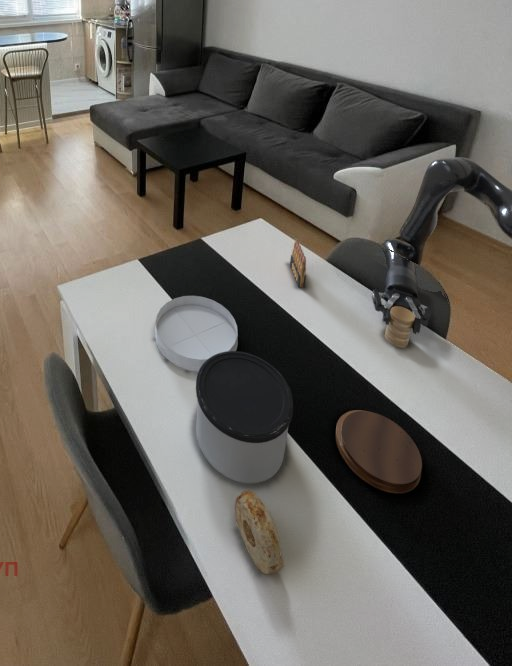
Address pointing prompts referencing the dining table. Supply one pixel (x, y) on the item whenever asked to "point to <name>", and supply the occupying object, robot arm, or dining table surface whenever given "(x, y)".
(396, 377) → the dining table surface
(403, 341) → the chip roll
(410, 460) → the brown round base
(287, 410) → the container
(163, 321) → the dish
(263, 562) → the bagel
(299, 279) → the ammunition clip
